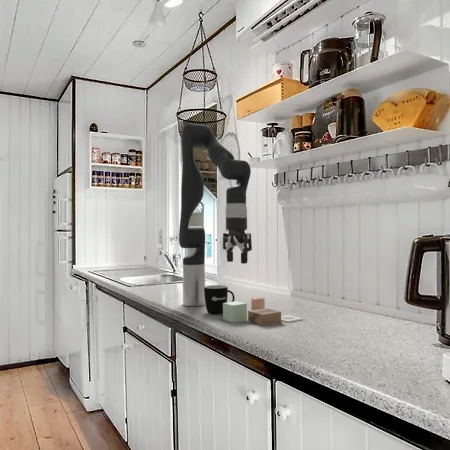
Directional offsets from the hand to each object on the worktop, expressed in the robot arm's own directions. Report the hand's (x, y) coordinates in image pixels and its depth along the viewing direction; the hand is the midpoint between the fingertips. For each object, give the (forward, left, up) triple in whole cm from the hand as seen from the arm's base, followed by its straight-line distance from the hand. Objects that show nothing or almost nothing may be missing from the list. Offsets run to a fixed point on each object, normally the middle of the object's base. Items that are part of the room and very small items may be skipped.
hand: (237, 262), depth 151 cm
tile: (+11, +14, -20) cm, 27 cm away
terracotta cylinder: (-2, +11, -20) cm, 23 cm away
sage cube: (0, -1, -20) cm, 20 cm away
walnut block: (+9, +5, -21) cm, 23 cm away
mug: (-14, +2, -20) cm, 25 cm away
